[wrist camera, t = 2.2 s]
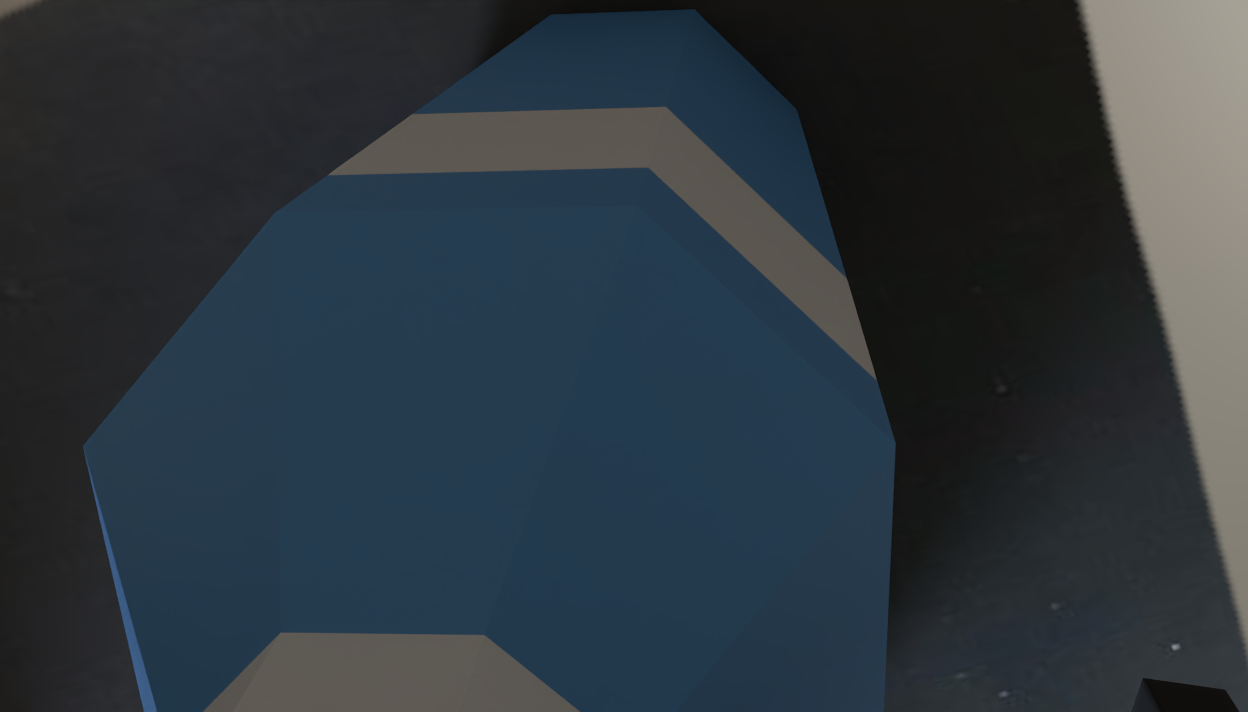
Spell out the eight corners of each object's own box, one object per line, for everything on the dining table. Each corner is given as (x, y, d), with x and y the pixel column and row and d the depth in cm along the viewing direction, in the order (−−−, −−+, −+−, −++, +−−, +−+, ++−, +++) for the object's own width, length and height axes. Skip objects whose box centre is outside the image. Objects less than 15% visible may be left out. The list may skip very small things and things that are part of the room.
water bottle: (728, 396, 33) (725, 1581, 10) (411, 278, 33) (-369, 1238, 9) (869, 77, 30) (1362, 758, 7) (516, -60, 29) (-307, 150, 6)
